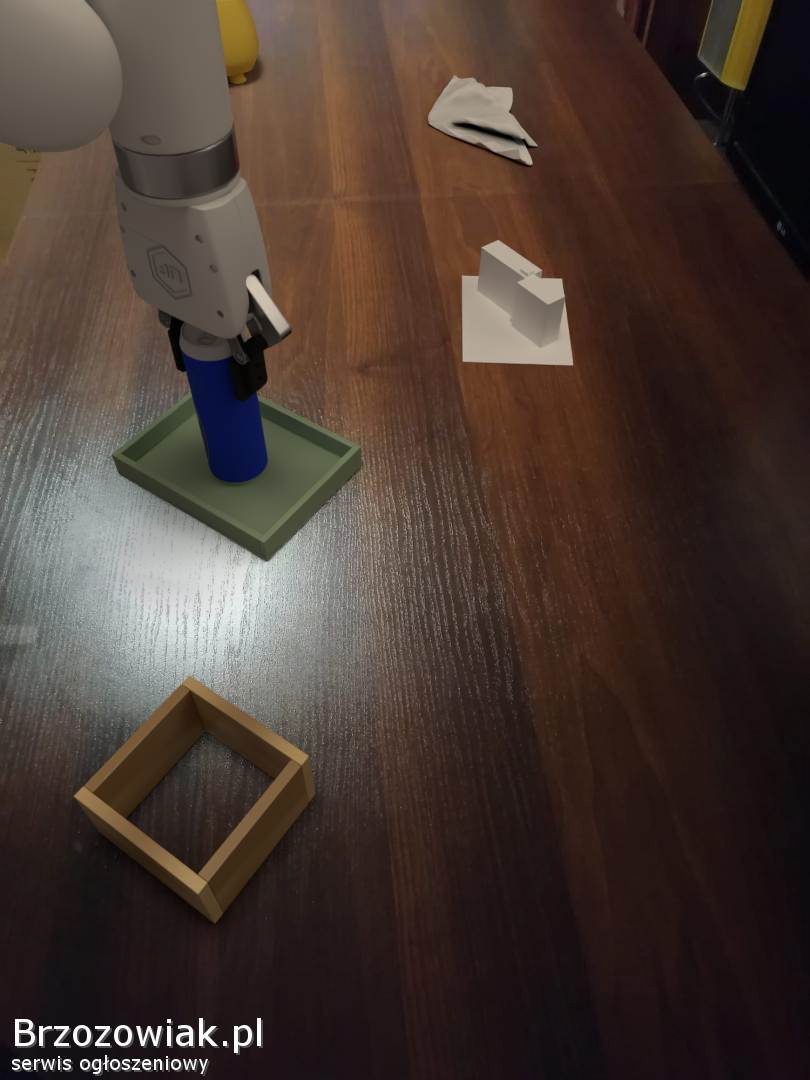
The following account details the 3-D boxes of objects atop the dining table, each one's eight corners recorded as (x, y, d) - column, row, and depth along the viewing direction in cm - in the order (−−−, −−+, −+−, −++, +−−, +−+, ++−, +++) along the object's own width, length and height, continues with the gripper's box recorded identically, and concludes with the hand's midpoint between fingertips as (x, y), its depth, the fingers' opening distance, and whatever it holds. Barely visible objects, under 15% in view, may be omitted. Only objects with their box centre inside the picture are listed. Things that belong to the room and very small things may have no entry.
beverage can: (221, 441, 78) (191, 303, 67) (275, 450, 78) (254, 312, 66) (201, 482, 75) (166, 345, 64) (258, 491, 75) (232, 354, 63)
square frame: (99, 832, 56) (73, 796, 52) (204, 717, 62) (189, 674, 57) (215, 924, 53) (197, 894, 48) (316, 793, 58) (309, 755, 54)
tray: (118, 474, 76) (111, 454, 75) (218, 392, 83) (214, 372, 81) (267, 561, 71) (263, 542, 69) (362, 466, 77) (361, 446, 76)
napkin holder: (460, 275, 96) (463, 229, 92) (561, 277, 96) (570, 231, 92) (462, 362, 87) (466, 315, 82) (575, 365, 87) (585, 318, 82)
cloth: (417, 80, 127) (417, 64, 125) (509, 77, 128) (511, 61, 126) (440, 170, 110) (441, 153, 109) (545, 166, 111) (548, 149, 110)
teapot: (257, 40, 135) (247, -52, 125) (265, 97, 123) (254, 0, 113) (170, 44, 133) (153, -49, 124) (169, 103, 121) (150, 5, 111)
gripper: (39, 140, 55) (111, 361, 70) (242, 224, 50) (275, 448, 64) (124, 97, 59) (176, 315, 74) (321, 170, 53) (336, 392, 68)
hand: (222, 374), depth 68 cm, fingers open, 5 cm apart
